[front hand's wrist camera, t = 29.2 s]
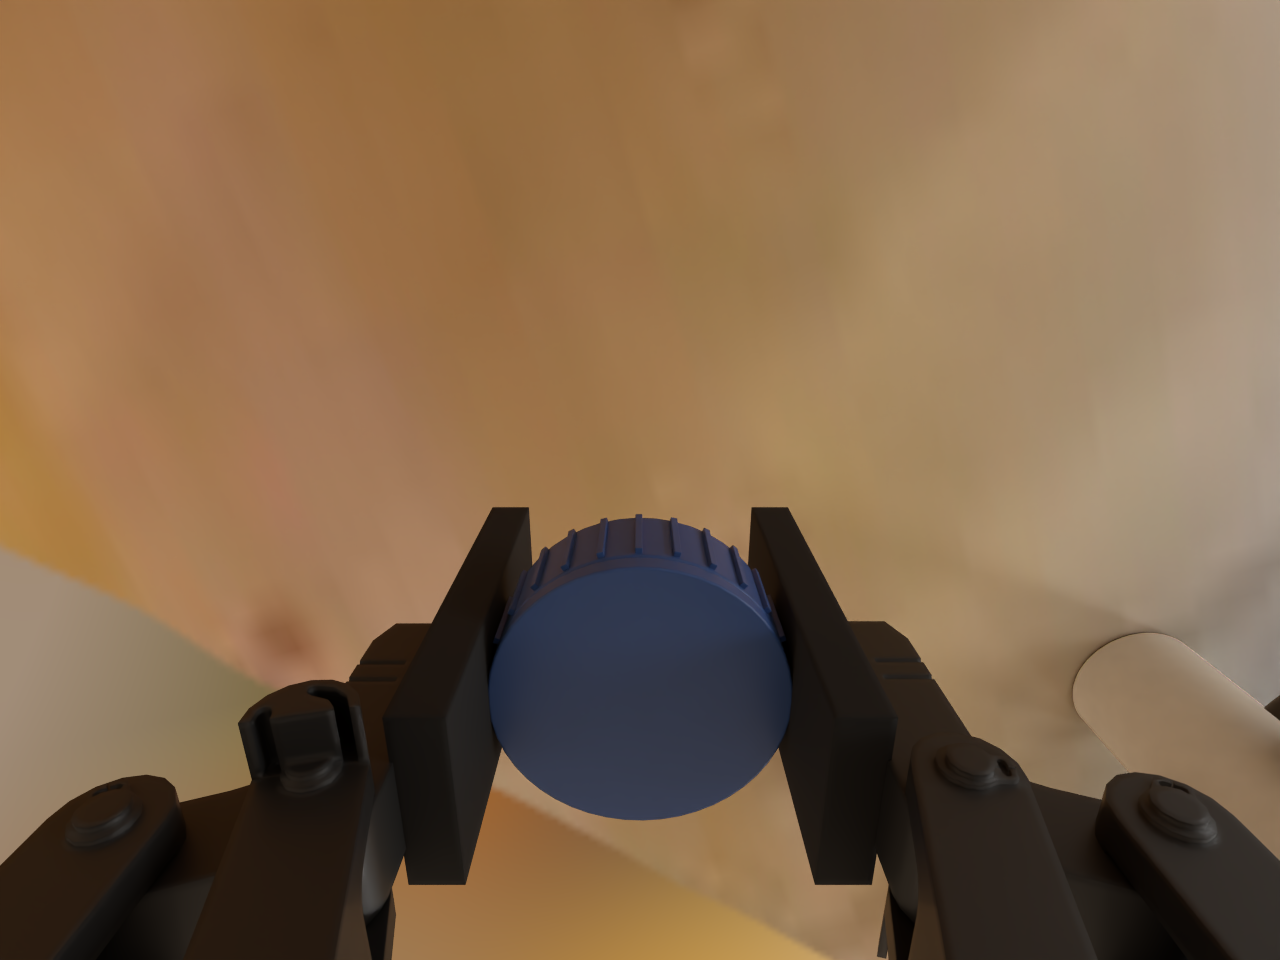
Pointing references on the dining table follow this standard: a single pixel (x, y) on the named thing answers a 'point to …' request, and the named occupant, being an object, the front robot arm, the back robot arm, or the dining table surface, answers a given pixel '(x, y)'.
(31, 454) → the dining table surface
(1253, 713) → the white cylinder
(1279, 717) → the back robot arm
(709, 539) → the lid
